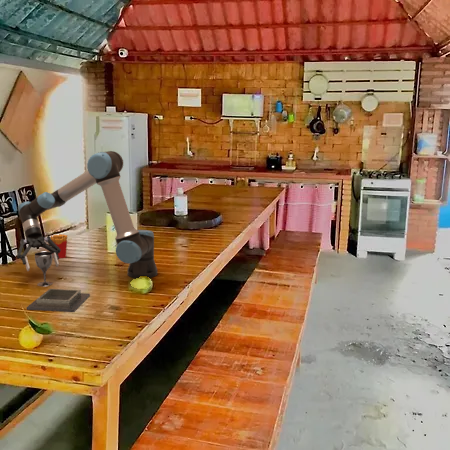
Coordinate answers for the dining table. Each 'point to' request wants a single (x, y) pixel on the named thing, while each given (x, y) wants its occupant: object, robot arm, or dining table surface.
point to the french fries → (60, 244)
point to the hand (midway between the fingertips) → (43, 267)
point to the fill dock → (59, 300)
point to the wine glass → (44, 264)
